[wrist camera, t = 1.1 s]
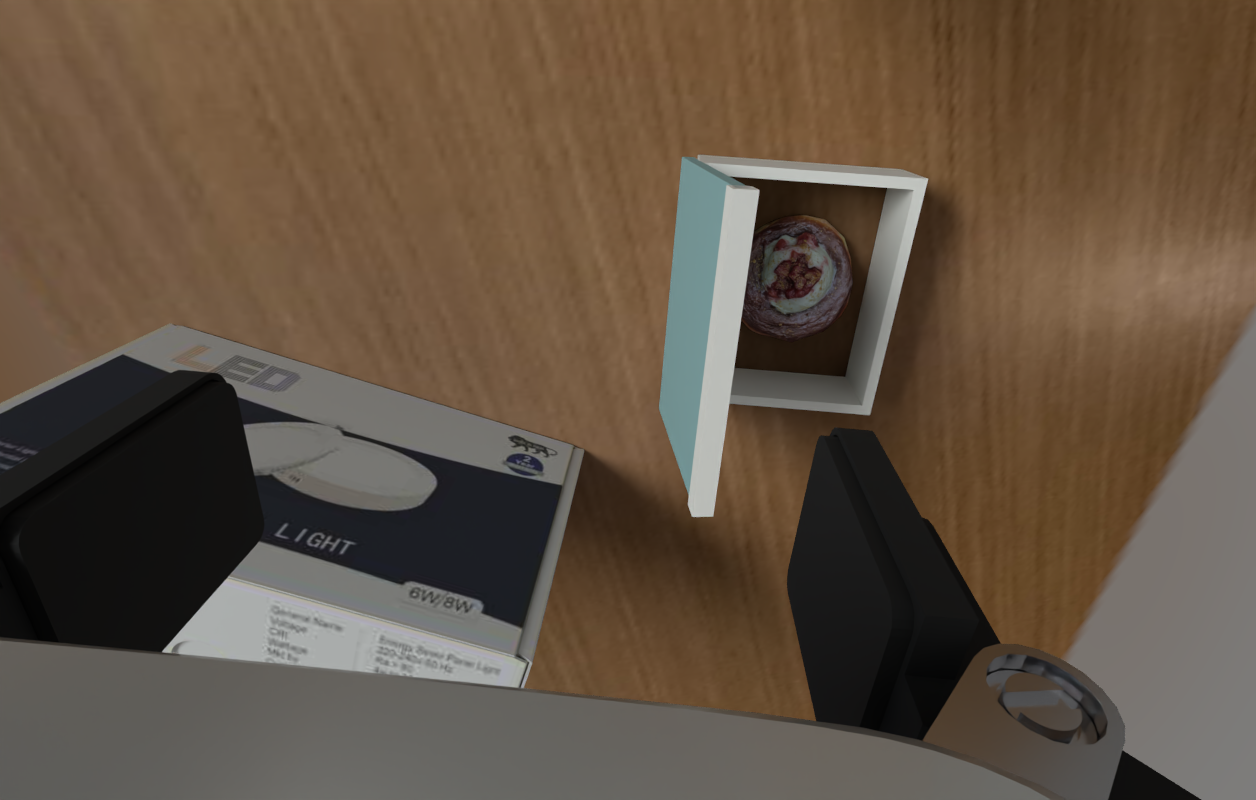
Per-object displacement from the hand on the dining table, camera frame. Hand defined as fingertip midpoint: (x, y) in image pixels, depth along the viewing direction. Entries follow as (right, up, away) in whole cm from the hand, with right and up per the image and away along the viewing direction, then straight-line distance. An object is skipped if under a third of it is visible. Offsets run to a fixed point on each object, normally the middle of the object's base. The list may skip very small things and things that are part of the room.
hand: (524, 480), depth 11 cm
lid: (+5, +5, +22) cm, 23 cm away
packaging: (-17, 0, +38) cm, 42 cm away
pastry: (+12, +9, +32) cm, 35 cm away
